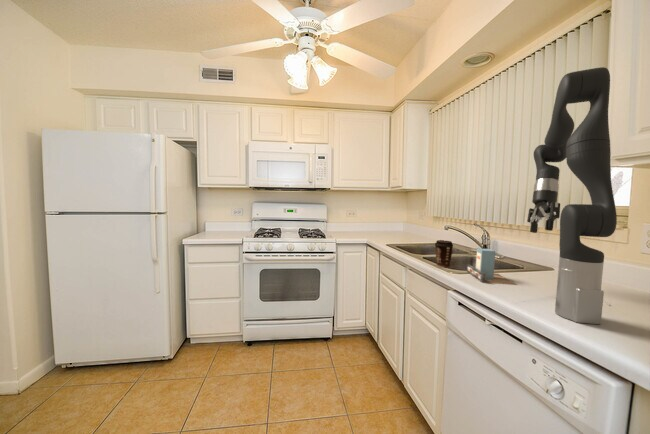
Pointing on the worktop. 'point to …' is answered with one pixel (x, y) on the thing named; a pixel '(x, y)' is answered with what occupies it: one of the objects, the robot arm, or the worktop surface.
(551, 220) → the robot arm
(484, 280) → the shelf board
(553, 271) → the worktop surface
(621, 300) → the worktop surface
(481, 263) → the carton
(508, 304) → the worktop surface
